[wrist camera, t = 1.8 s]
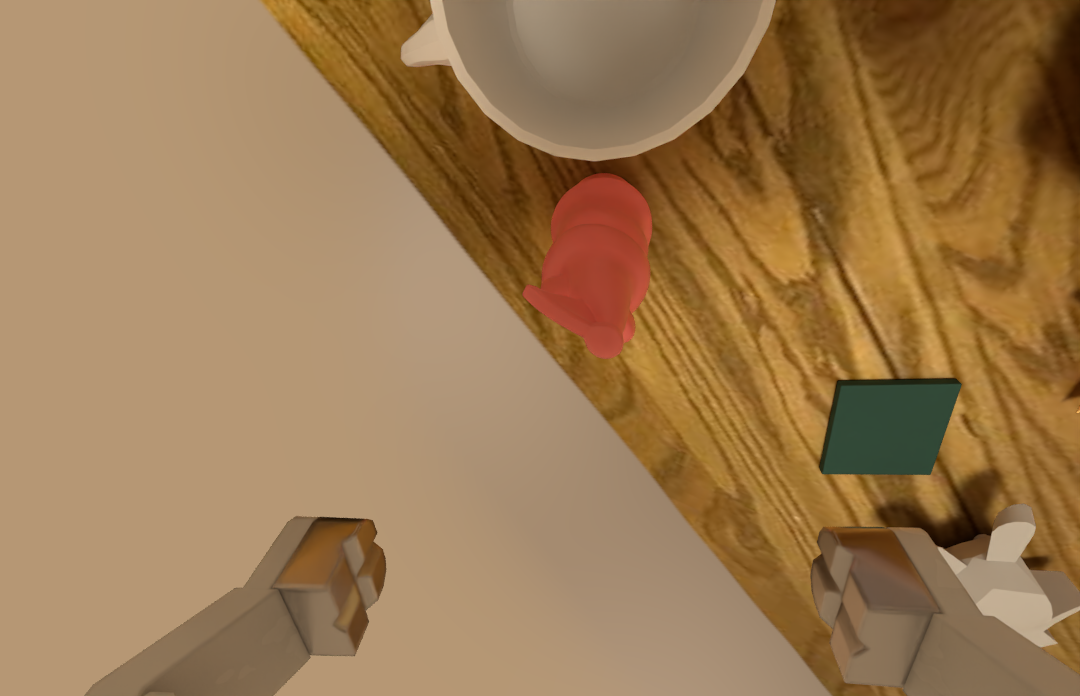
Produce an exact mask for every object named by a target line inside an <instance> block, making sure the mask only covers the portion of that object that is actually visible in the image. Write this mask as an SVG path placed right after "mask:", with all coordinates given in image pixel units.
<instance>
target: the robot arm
mask: <svg viewBox="0 0 1080 696" xmlns="http://www.w3.org/2000/svg"><path fill="white" fill-rule="evenodd" d="M376 535H377V531H376V528H375V525H374V523H373V520H369V519H356V518H354V519H353V518H333V517H301V516H296V517H294V518H293V519H291V520H290V521H288V522H287V524H286V525H285V527H284V528H283V530H282V531H281V533H280V534H279V535H278V537H277V538H276V540H275V541H274V543H273V544H272V546H271V547H270V549H269V550H268V552H267V553H266V555H265V556H264V558H263V559H262V560H261V562H260V563H259V565H258V566H257V568H256V570H255V571H254V572H253V574H252V575H251V577H250V578H249V580H248V581H247V583H246V584H245V586H244V587H243V588H234V589H233V590H231V591H230V592H228V593H227V594H226V595H224V596H223V597H221V598H220V599H219V600H217V601H215V602H214V603H212V604H211V605H210V606H208V607H207V608H205V609H204V610H202V611H201V612H199V613H198V614H196V615H195V616H193V617H192V618H191V619H189V620H187V621H186V622H184V623H183V624H182V625H180V626H179V627H177V628H176V629H174V630H173V631H171V632H170V633H168V634H167V635H165V636H164V637H163V638H161V639H160V640H158V641H157V642H155V643H154V644H152V645H151V646H149V647H148V648H146V649H145V650H143V651H142V652H141V653H139V654H137V655H136V656H135V657H133V658H132V659H130V660H129V661H127V662H126V663H125V664H123V665H121V666H120V667H119V668H117V669H115V670H114V671H113V672H111V673H110V674H108V675H107V676H105V677H104V678H102V679H101V680H99V681H98V682H96V683H95V684H93V686H92V687H91V688H90V689H89V691H88V692H87V693H86V694H85V696H273V695H274V694H275V693H276V692H277V691H278V690H279V689H280V688H281V687H282V686H283V685H284V684H285V683H286V682H287V681H288V680H289V679H290V678H291V677H292V676H293V675H294V674H295V673H296V672H297V671H298V670H299V669H300V668H301V667H302V666H303V665H304V664H305V663H306V662H307V661H308V660H309V659H310V655H323V656H355V654H356V652H357V650H358V647H359V645H360V642H361V640H362V638H363V635H364V633H365V630H366V628H367V626H368V623H369V620H368V617H367V613H366V610H367V609H368V608H369V607H371V606H372V605H373V604H374V603H375V602H376V601H378V599H379V596H380V594H381V591H382V589H383V586H384V580H385V574H386V560H385V556H384V552H383V549H382V548H381V547H379V546H378V545H377V544H376V543H374V542H373V541H374V539H375V537H376ZM817 543H818V546H819V548H820V550H821V553H822V554H821V555H819V556H818V557H817V558H815V559H814V560H813V563H812V569H811V588H812V594H813V598H814V602H815V605H816V608H817V611H818V614H819V616H820V618H821V619H822V620H823V621H825V622H826V623H827V624H828V625H829V626H830V627H831V628H832V629H833V631H832V635H831V639H830V645H831V648H832V651H833V653H834V656H835V658H836V661H837V663H838V666H839V669H840V671H841V674H842V676H843V679H844V681H845V683H852V684H864V685H877V686H889V687H901V688H903V691H904V693H905V694H906V695H907V696H1080V675H1079V674H1078V673H1077V672H1075V671H1074V670H1072V669H1071V668H1069V667H1068V666H1066V665H1065V664H1063V663H1062V662H1060V661H1059V660H1057V659H1056V658H1055V657H1053V656H1052V655H1050V654H1049V653H1047V652H1046V651H1044V650H1043V649H1041V648H1040V647H1038V646H1037V645H1036V644H1034V643H1033V642H1031V641H1030V640H1028V639H1027V638H1025V637H1024V636H1022V635H1021V634H1019V633H1018V632H1016V631H1015V630H1014V629H1012V628H1011V627H1009V626H1008V625H1006V624H1005V623H1003V622H1002V621H1000V620H999V619H997V618H996V617H995V616H983V614H982V613H981V611H980V610H979V608H978V607H977V605H976V604H975V603H974V601H973V600H972V598H971V597H970V595H969V594H968V592H967V591H966V589H965V588H964V586H963V585H962V583H961V582H960V581H959V579H958V578H957V576H956V575H955V573H954V572H953V570H952V569H951V567H950V566H949V564H948V563H947V561H946V560H945V558H944V557H943V556H942V554H941V553H940V551H939V550H938V548H937V547H936V545H935V544H934V542H933V541H932V539H931V538H930V536H929V535H928V534H927V532H925V531H924V530H923V529H921V528H903V527H887V528H884V527H823V528H822V529H821V531H820V532H819V536H818V541H817Z"/></svg>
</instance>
